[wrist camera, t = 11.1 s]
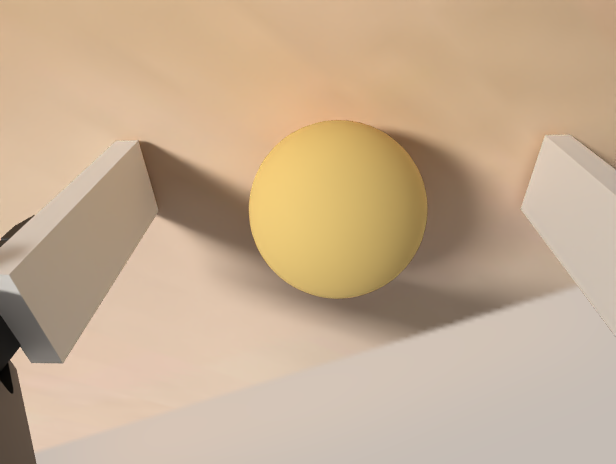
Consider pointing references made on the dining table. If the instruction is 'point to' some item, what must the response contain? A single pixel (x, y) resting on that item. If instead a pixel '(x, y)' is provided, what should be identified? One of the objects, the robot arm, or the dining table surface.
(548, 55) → the dining table surface
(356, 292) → the ochre ball
